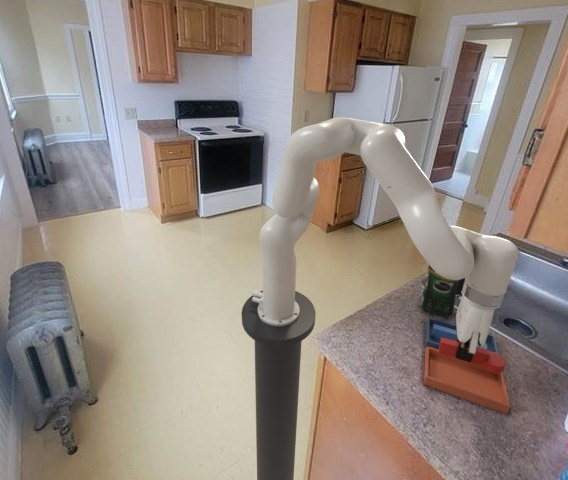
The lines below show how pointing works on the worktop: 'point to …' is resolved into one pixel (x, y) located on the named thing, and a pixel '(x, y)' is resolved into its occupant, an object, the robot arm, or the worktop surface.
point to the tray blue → (435, 342)
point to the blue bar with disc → (447, 334)
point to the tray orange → (465, 380)
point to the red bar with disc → (481, 357)
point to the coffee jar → (439, 294)
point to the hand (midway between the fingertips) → (462, 354)
